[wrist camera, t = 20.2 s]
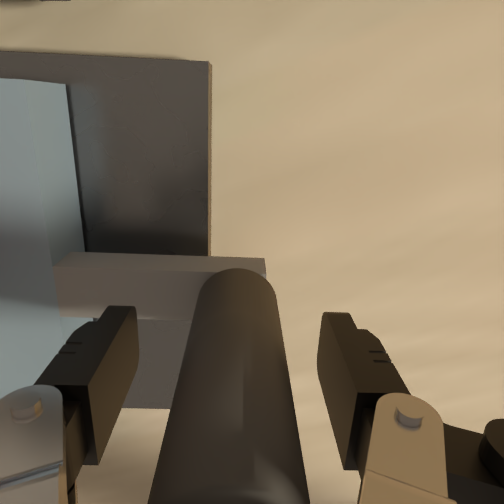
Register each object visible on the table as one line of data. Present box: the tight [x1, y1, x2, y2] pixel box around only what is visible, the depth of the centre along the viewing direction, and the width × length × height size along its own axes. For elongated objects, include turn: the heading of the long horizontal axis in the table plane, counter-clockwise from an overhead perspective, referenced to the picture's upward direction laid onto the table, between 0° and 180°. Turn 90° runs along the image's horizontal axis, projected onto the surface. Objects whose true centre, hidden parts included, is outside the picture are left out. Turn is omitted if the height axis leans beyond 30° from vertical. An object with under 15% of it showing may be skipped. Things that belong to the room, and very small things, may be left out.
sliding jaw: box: [0, 78, 310, 504], centre depth 11 cm, size 11×14×11 cm
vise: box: [0, 51, 212, 409], centre depth 16 cm, size 16×16×4 cm
